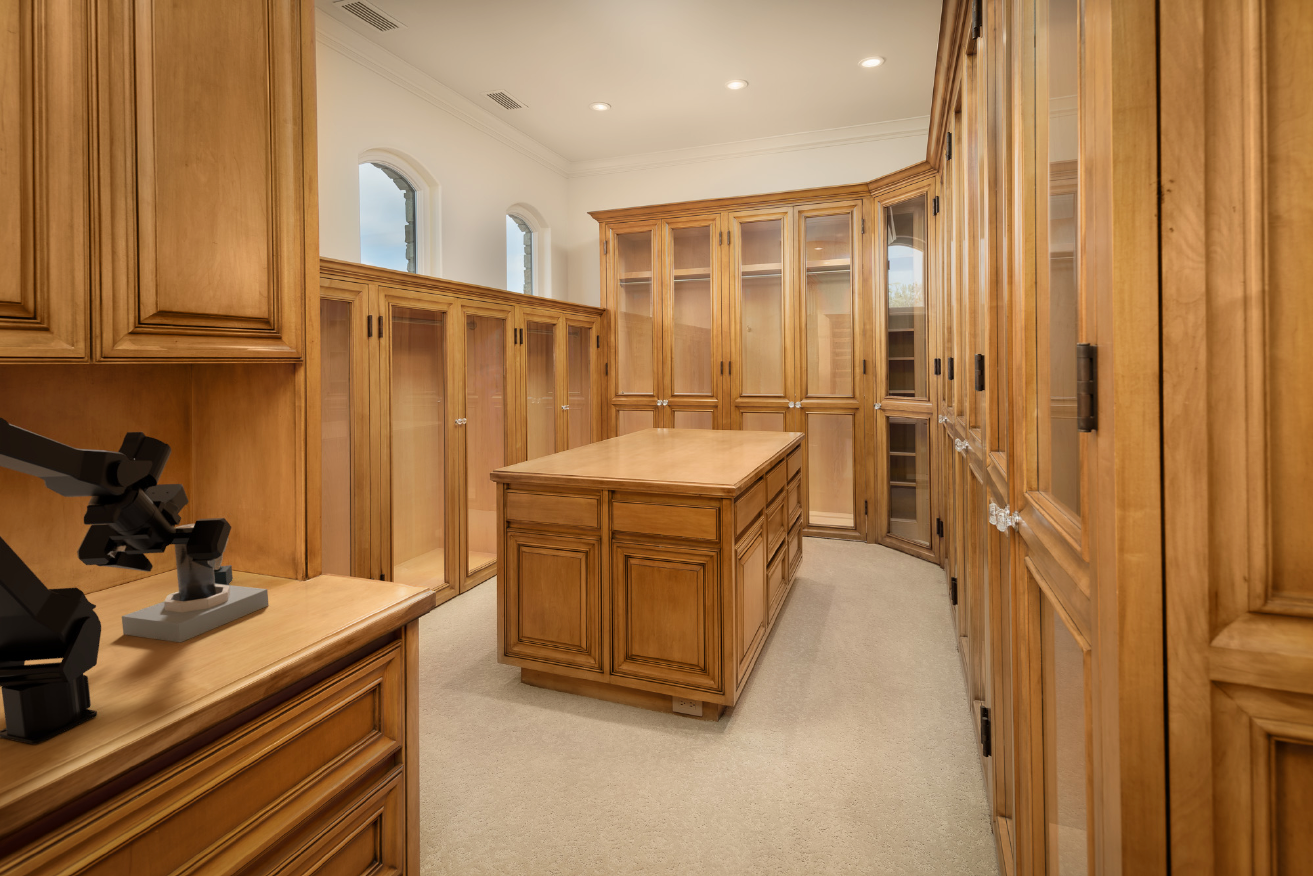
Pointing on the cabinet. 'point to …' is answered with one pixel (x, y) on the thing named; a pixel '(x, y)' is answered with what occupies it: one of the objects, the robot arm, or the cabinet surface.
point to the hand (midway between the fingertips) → (182, 567)
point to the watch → (222, 571)
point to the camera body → (194, 613)
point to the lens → (192, 575)
